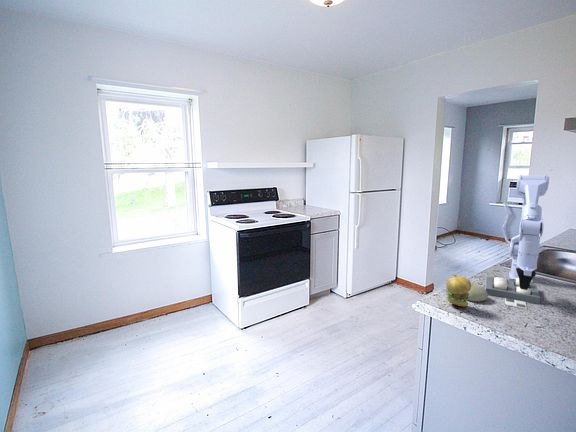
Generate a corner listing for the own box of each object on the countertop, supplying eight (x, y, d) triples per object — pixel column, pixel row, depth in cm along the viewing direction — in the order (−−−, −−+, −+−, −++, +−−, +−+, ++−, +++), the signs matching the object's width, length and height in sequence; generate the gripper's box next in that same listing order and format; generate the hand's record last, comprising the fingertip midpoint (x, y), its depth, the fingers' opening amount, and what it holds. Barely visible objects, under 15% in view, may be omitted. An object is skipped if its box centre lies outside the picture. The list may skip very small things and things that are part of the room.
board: (486, 281, 130) (487, 276, 130) (535, 289, 122) (535, 284, 121) (485, 294, 118) (486, 288, 118) (539, 304, 109) (540, 297, 109)
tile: (504, 298, 114) (504, 297, 114) (525, 302, 111) (525, 301, 111) (505, 305, 109) (505, 303, 109) (526, 309, 106) (526, 308, 106)
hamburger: (473, 307, 107) (476, 274, 105) (462, 313, 103) (465, 278, 101) (451, 299, 114) (454, 268, 112) (440, 304, 110) (442, 272, 108)
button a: (493, 283, 127) (494, 276, 127) (506, 285, 125) (506, 278, 125) (493, 286, 124) (494, 279, 123) (506, 289, 122) (507, 281, 121)
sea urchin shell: (495, 299, 109) (478, 283, 110) (476, 312, 112) (460, 296, 112) (484, 289, 118) (469, 274, 118) (466, 301, 120) (452, 287, 121)
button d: (515, 293, 118) (516, 285, 117) (529, 295, 116) (530, 287, 115) (515, 297, 114) (516, 289, 114) (530, 299, 112) (531, 291, 112)
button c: (514, 284, 123) (515, 276, 123) (528, 286, 121) (529, 278, 121) (515, 287, 120) (516, 280, 119) (529, 289, 118) (530, 282, 117)
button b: (493, 286, 121) (494, 278, 121) (506, 288, 119) (507, 281, 119) (493, 289, 118) (494, 282, 118) (507, 292, 116) (507, 284, 115)
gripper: (513, 247, 120) (509, 280, 123) (515, 256, 108) (511, 293, 111) (536, 249, 117) (532, 284, 119) (541, 259, 105) (536, 297, 107)
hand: (523, 288), depth 114 cm, fingers closed, pressing on button d
